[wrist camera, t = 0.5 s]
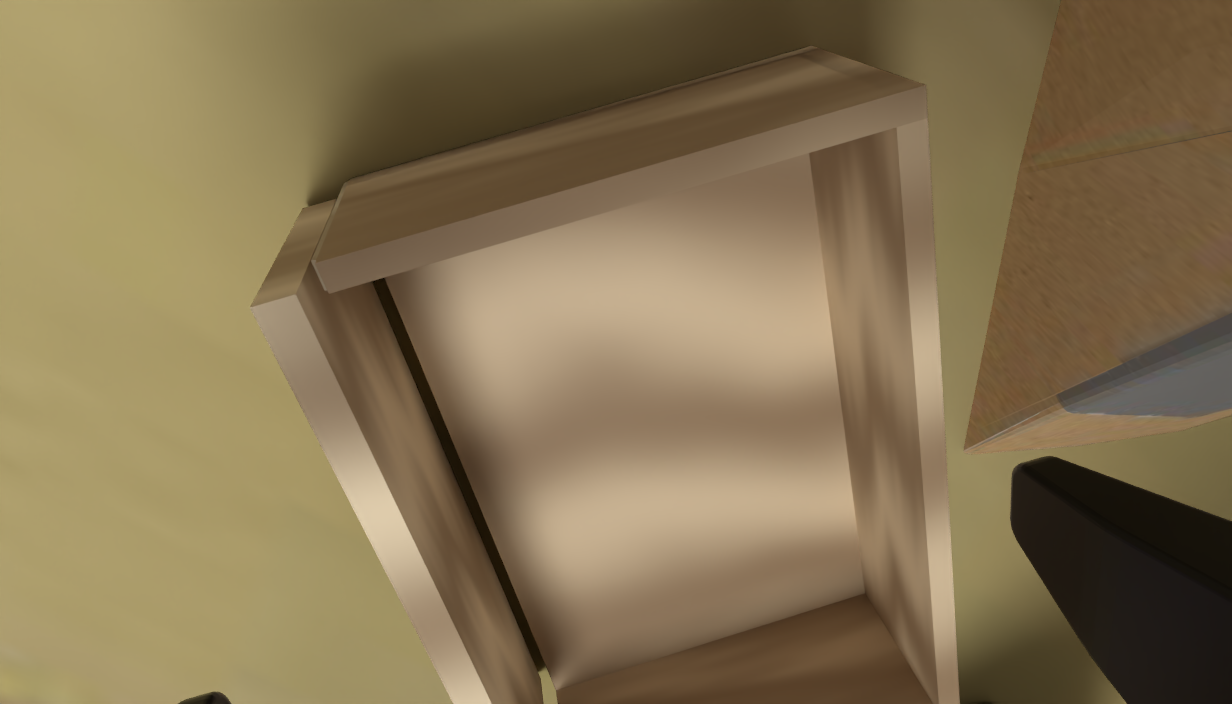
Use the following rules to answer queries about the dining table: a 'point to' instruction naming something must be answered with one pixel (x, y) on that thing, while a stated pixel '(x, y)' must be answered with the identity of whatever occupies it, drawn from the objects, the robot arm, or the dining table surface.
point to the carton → (693, 380)
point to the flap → (393, 470)
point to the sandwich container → (1117, 236)
